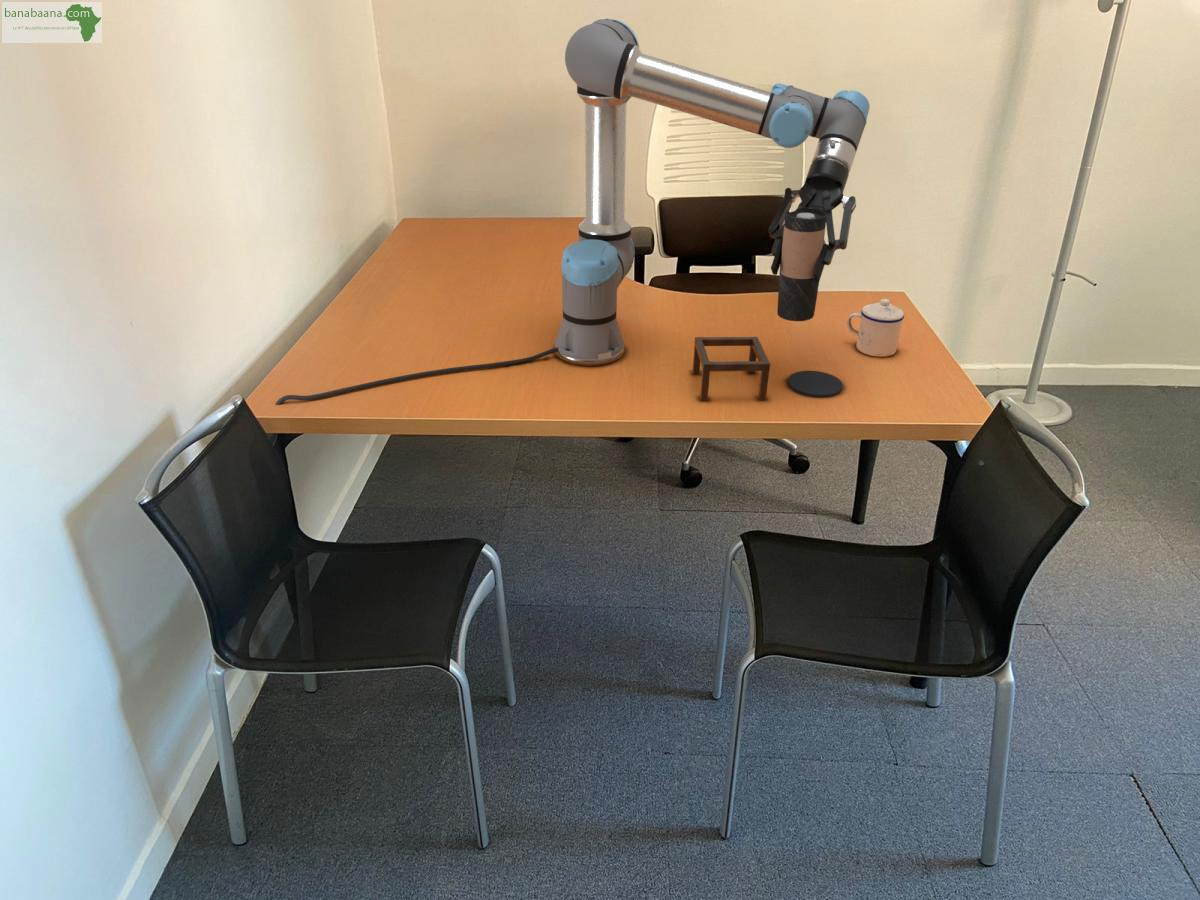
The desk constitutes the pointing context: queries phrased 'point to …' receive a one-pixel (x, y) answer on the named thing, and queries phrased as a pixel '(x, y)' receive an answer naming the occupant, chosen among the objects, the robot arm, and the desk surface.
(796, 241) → the travel mug
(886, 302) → the teacup with lid
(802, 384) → the coaster
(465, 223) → the desk surface
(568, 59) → the robot arm
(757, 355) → the rack
